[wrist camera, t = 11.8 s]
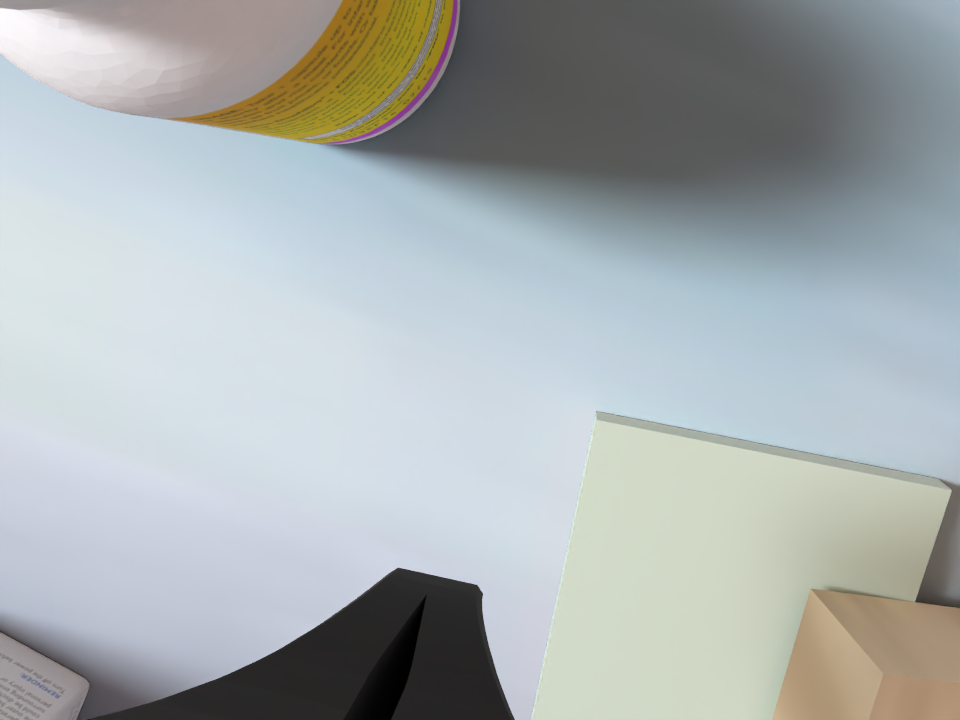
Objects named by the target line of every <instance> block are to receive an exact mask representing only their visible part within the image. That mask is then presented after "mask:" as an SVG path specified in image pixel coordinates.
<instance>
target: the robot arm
mask: <svg viewBox="0 0 960 720" xmlns="http://www.w3.org/2000/svg"><path fill="white" fill-rule="evenodd" d="M482 596H483V593H482V592H481V590H480V589H479V587H478V586H477V585H475V584H470V583H465V582H461V581H456V580H452V579H447V578H443V577H438V576H434V575H429V574H424V573H420V572H415V571H411V570H406V569H402V568H397V569H395V570H394V571H392V572H391V573H389V574H388V575H387V576H385V577H384V578H383V579H381V580H380V581H379V582H378V583H376V584H375V585H374V586H373V587H371V588H370V589H369V590H367V591H366V592H365V593H363V594H362V595H361V596H359V597H358V598H357V599H355V600H354V601H353V602H351V603H350V604H349V605H347V606H346V607H344V608H343V609H342V610H340V611H339V612H337V613H336V614H334V615H333V616H332V617H330V618H329V619H327V620H326V621H324V622H323V623H321V624H320V625H318V626H317V627H315V628H314V629H312V630H311V631H309V632H307V633H306V634H304V635H302V636H301V637H299V638H297V639H296V640H294V641H292V642H291V643H289V644H287V645H286V646H284V647H283V648H281V649H279V650H277V651H276V652H274V653H272V654H270V655H268V656H266V657H264V658H262V659H260V660H258V661H256V662H254V663H252V664H250V665H247V666H245V667H243V668H241V669H239V670H237V671H234V672H232V673H230V674H228V675H225V676H223V677H221V678H218V679H216V680H213V681H210V682H207V683H205V684H202V685H199V686H197V687H194V688H191V689H188V690H186V691H183V692H180V693H177V694H175V695H172V696H169V697H166V698H164V699H161V700H158V701H154V702H151V703H148V704H144V705H141V706H137V707H134V708H131V709H127V710H124V711H120V712H116V713H112V714H108V715H104V716H100V717H96V718H92V719H88V720H515V719H514V717H513V715H512V713H511V710H510V708H509V705H508V703H507V700H506V698H505V695H504V692H503V690H502V687H501V685H500V682H499V679H498V676H497V673H496V670H495V666H494V663H493V659H492V656H491V652H490V649H489V645H488V641H487V637H486V632H485V626H484V621H483V613H482Z"/></svg>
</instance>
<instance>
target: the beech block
mask: <svg viewBox="0 0 960 720" xmlns="http://www.w3.org/2000/svg"><path fill="white" fill-rule="evenodd" d="M772 720H960V608H955V607H948V606H940V605H932V604H925V603H917V602H910V601H902V600H894V599H887V598H879V597H871V596H864V595H856V594H849V593H841V592H833V591H826V590H818V589H811V588H810V592H809V595H808V599H807V602H806V605H805V609H804V612H803V616H802V619H801V622H800V626H799V629H798V633H797V636H796V639H795V643H794V646H793V650H792V653H791V657H790V660H789V663H788V667H787V670H786V674H785V677H784V680H783V684H782V687H781V691H780V694H779V697H778V701H777V704H776V708H775V711H774V714H773V718H772Z"/></svg>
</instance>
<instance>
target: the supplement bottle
mask: <svg viewBox="0 0 960 720" xmlns="http://www.w3.org/2000/svg"><path fill="white" fill-rule="evenodd" d="M459 15H460V0H0V53H1V54H2V55H3V56H5V57H6V58H7V59H8V60H10V61H11V62H12V63H13V64H15V65H16V66H17V67H18V68H20V69H21V70H22V71H24V72H25V73H27V74H29V75H30V76H32V77H33V78H35V79H36V80H38V81H40V82H41V83H43V84H45V85H47V86H49V87H51V88H52V89H54V90H56V91H58V92H60V93H63V94H65V95H67V96H69V97H71V98H73V99H76V100H78V101H81V102H83V103H86V104H89V105H91V106H95V107H98V108H102V109H106V110H109V111H114V112H120V113H125V114H131V115H138V116H145V117H152V118H159V119H166V120H173V121H179V122H186V123H193V124H199V125H205V126H211V127H217V128H223V129H229V130H235V131H241V132H247V133H253V134H259V135H265V136H270V137H276V138H282V139H288V140H294V141H300V142H307V143H315V144H326V145H330V144H347V143H354V142H358V141H362V140H366V139H369V138H372V137H375V136H377V135H379V134H382V133H384V132H386V131H388V130H390V129H392V128H393V127H395V126H396V125H398V124H400V123H401V122H402V121H404V120H405V119H406V118H408V117H409V116H410V115H411V114H412V113H413V112H414V111H415V110H417V109H418V108H419V107H420V106H421V104H422V103H423V102H424V101H425V100H426V99H427V97H428V96H429V95H430V94H431V92H432V91H433V90H434V88H435V87H436V85H437V84H438V82H439V80H440V79H441V77H442V75H443V73H444V72H445V69H446V67H447V65H448V62H449V60H450V57H451V55H452V51H453V48H454V44H455V40H456V36H457V32H458V25H459Z"/></svg>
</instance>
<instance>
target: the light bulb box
mask: <svg viewBox="0 0 960 720" xmlns="http://www.w3.org/2000/svg"><path fill="white" fill-rule="evenodd" d="M88 690H89V682H88V681H87V680H86V679H85V678H83V677H82V676H80V675H78V674H76V673H75V672H73V671H71V670H69V669H67V668H65V667H63V666H62V665H60V664H58V663H56V662H54V661H53V660H51V659H49V658H47V657H45V656H43V655H42V654H40V653H38V652H36V651H34V650H32V649H30V648H29V647H27V646H25V645H23V644H21V643H20V642H18V641H16V640H14V639H12V638H10V637H8V636H6V635H5V634H3V633H1V632H0V720H76V719H77V717H78V714H79V712H80V710H81V707H82V705H83V703H84V700H85V698H86V695H87V693H88Z"/></svg>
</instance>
